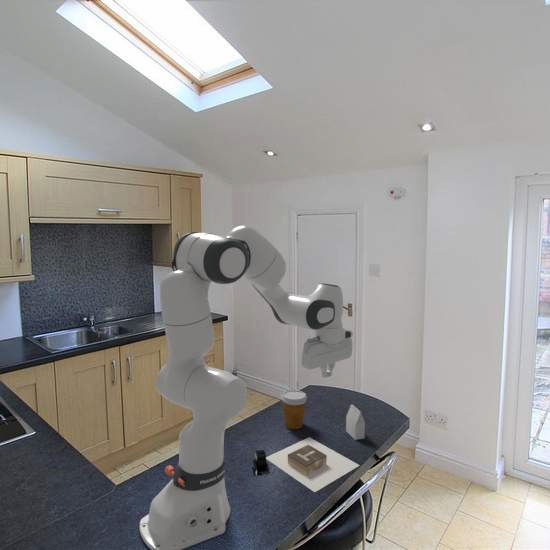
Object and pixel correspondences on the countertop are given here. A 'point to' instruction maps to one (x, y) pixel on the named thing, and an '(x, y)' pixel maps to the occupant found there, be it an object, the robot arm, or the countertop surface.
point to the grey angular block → (355, 423)
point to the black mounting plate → (260, 463)
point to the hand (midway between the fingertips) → (326, 376)
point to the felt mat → (321, 476)
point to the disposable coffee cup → (294, 408)
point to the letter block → (307, 459)
